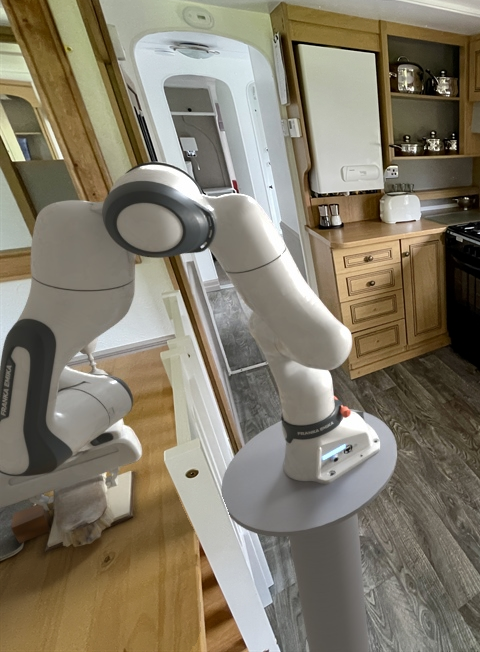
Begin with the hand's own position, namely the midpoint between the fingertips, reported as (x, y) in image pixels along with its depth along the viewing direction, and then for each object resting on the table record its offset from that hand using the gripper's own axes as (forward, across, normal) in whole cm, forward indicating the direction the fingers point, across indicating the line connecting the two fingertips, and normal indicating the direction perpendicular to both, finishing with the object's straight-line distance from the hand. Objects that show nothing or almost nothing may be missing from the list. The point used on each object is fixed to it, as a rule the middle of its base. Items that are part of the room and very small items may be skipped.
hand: (84, 495), depth 74 cm
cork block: (+4, -8, 0) cm, 8 cm away
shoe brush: (+2, 0, 0) cm, 2 cm away
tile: (+4, +1, 0) cm, 4 cm away
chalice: (+4, -3, +62) cm, 62 cm away
